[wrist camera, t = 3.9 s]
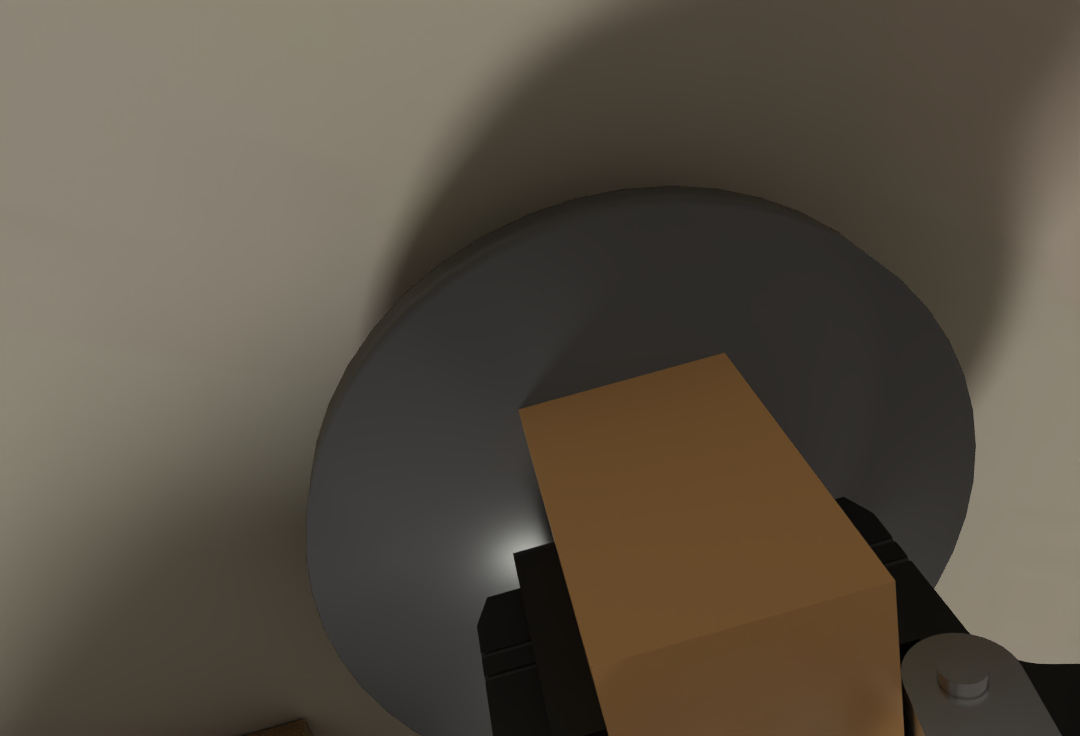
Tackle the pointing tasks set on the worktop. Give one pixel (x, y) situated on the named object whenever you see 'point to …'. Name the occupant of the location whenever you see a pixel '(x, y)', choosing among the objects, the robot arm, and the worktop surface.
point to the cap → (645, 467)
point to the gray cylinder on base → (287, 730)
